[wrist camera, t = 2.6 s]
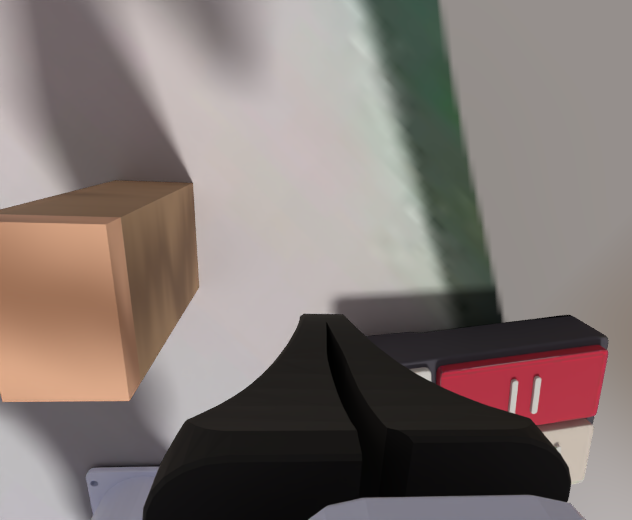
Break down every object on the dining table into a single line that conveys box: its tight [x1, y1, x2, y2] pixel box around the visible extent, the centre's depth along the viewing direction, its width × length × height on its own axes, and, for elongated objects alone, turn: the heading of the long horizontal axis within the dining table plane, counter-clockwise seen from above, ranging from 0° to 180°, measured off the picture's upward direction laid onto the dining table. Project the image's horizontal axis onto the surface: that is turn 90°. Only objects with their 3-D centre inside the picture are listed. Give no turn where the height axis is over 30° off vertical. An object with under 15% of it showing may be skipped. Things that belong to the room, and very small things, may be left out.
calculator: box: [366, 315, 608, 484], centre depth 24 cm, size 11×4×15 cm
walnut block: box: [0, 180, 199, 402], centre depth 16 cm, size 6×4×10 cm, turn 178°
